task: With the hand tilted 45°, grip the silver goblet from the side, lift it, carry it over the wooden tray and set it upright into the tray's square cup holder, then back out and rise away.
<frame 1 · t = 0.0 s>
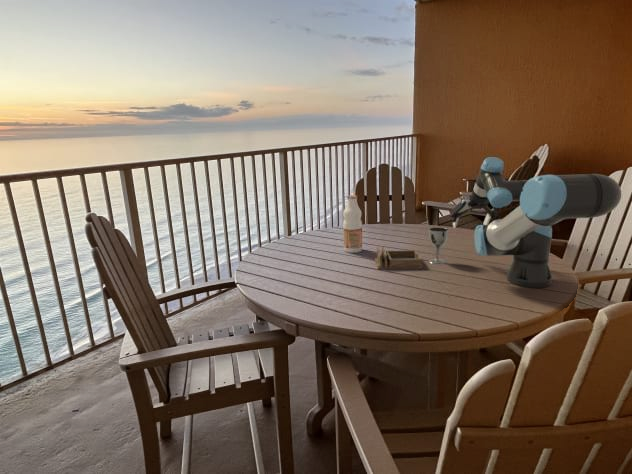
hand: (469, 225, 170), 15 cm above the table, tool tilted 35°, fingers open, 13 cm apart
wooden tray: (397, 263, 170), on the table
fruit juice: (352, 250, 193), on the table
silver goblet: (437, 261, 171), on the table
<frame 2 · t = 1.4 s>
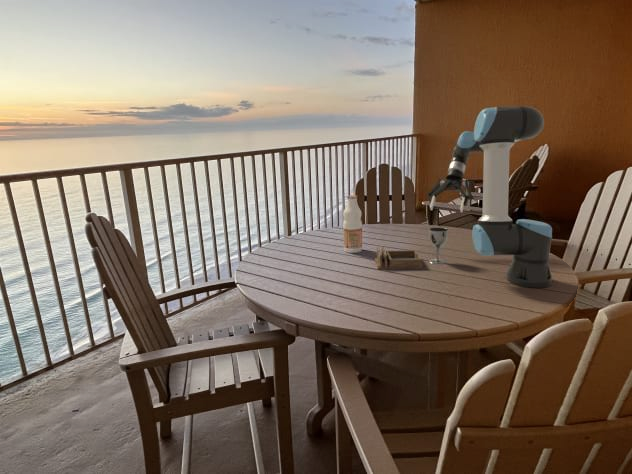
hand: (445, 209, 174), 22 cm above the table, tool tilted 45°, fingers open, 13 cm apart
nothing on the table moved.
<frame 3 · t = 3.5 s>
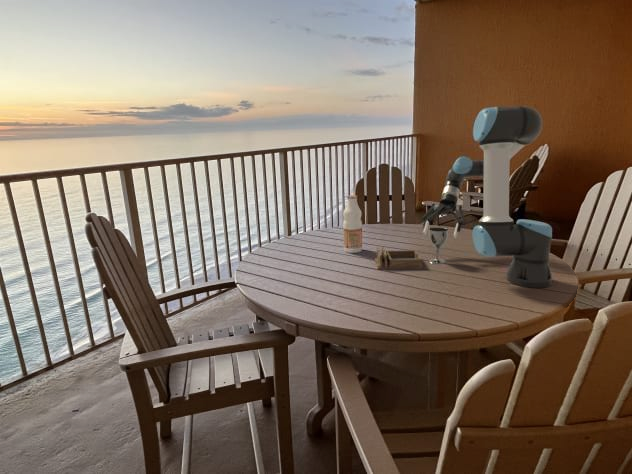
hand: (439, 235, 172), 11 cm above the table, tool tilted 45°, fingers open, 13 cm apart
nothing on the table moved.
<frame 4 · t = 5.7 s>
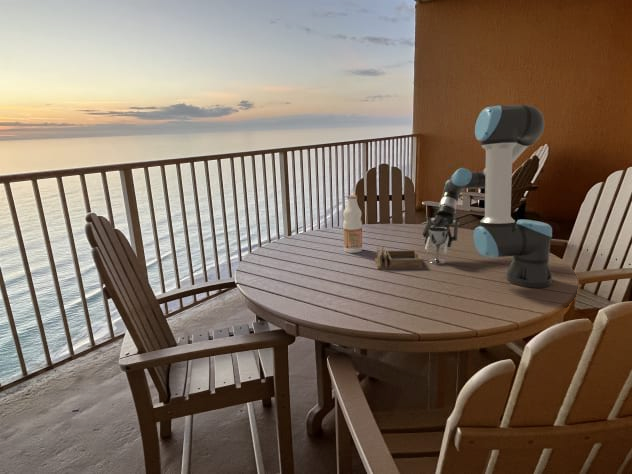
hand: (435, 251, 167), 6 cm above the table, tool tilted 45°, fingers closed on silver goblet, 7 cm apart
silver goblet: (437, 261, 171), on the table, touching gripper
everything else where it was.
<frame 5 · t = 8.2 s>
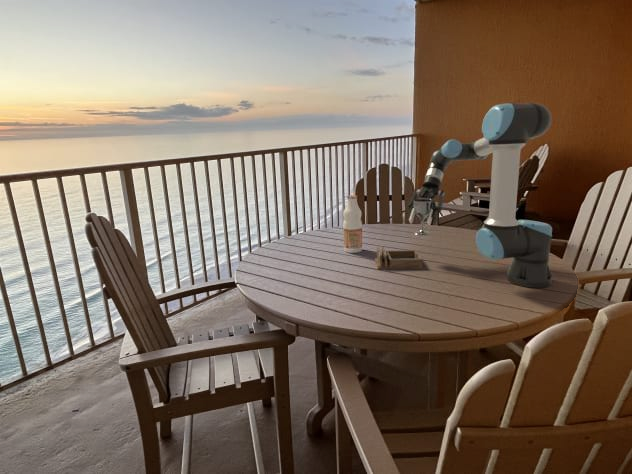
hand: (419, 222, 165), 19 cm above the table, tool tilted 45°, fingers closed on silver goblet, 7 cm apart
silver goblet: (421, 233, 169), point 13 cm above the table, touching gripper
everything else where it was.
when the fingers open (8 cm above the table, at t = 11.1 s): silver goblet drops 1 cm, resting on wooden tray.
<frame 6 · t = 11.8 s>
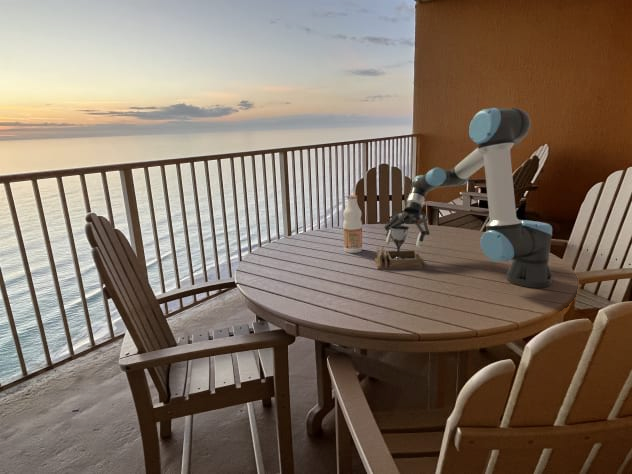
hand: (401, 245, 166), 9 cm above the table, tool tilted 45°, fingers open, 13 cm apart
silver goblet: (397, 259, 172), point 1 cm above the table, touching wooden tray, gripper
everything else where it was.
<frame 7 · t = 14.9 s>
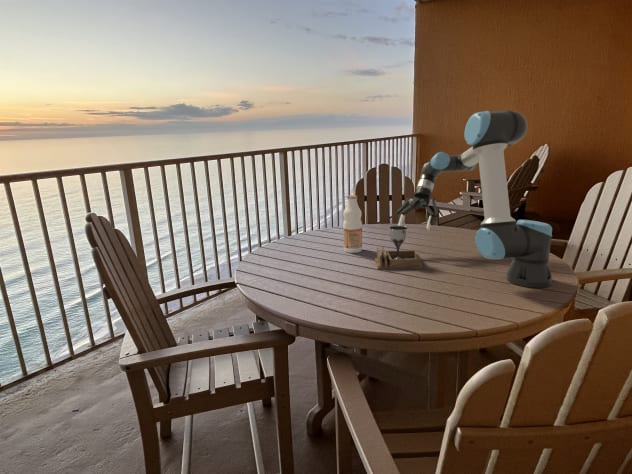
hand: (413, 228, 175), 14 cm above the table, tool tilted 45°, fingers open, 13 cm apart
silver goblet: (397, 260, 172), point 1 cm above the table, touching wooden tray
everything else where it was.
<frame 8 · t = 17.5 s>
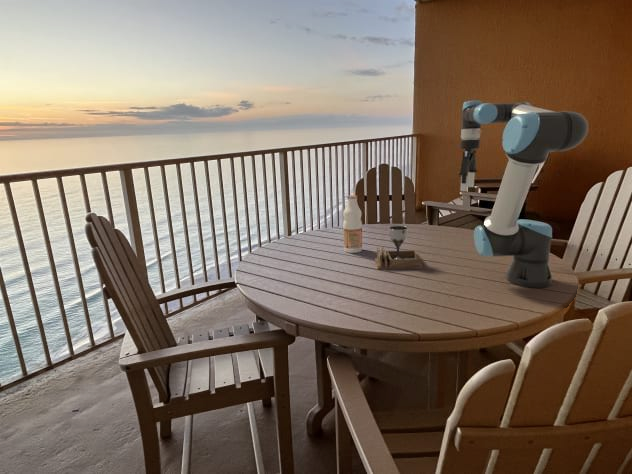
hand: (467, 189, 167), 32 cm above the table, tool pointing down, fingers open, 13 cm apart
nothing on the table moved.
at the end: silver goblet inside the target area (3.1 cm from its centre), point 0.9 cm above the table; silver goblet tilted 0°; the gripper is holding nothing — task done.
